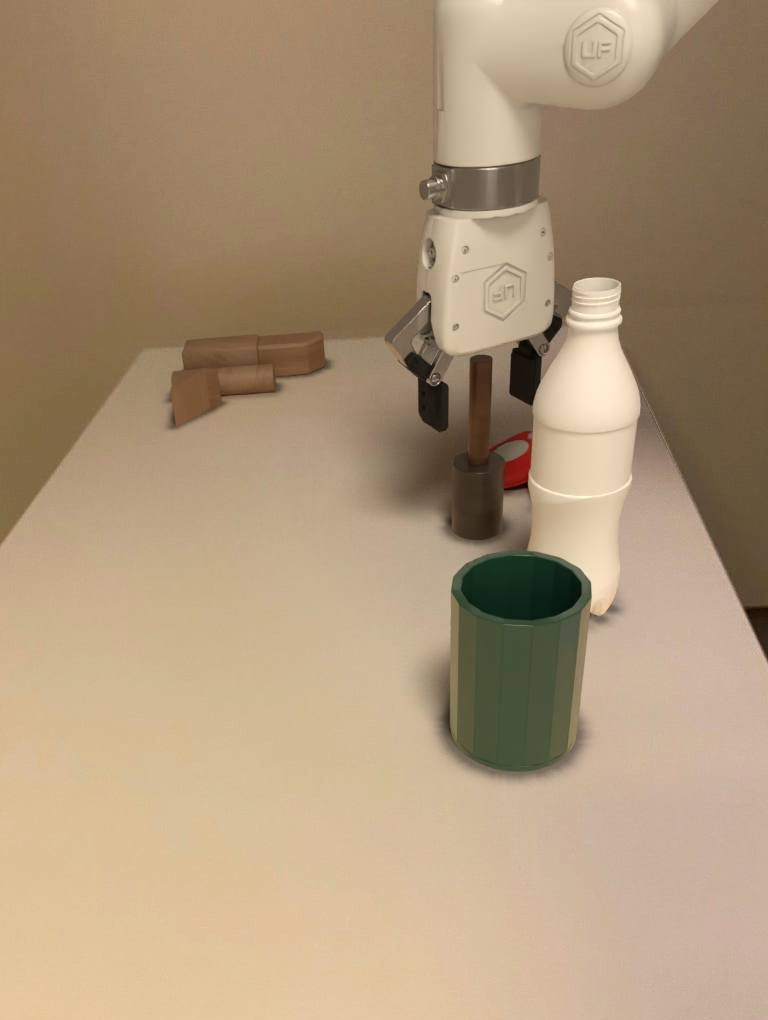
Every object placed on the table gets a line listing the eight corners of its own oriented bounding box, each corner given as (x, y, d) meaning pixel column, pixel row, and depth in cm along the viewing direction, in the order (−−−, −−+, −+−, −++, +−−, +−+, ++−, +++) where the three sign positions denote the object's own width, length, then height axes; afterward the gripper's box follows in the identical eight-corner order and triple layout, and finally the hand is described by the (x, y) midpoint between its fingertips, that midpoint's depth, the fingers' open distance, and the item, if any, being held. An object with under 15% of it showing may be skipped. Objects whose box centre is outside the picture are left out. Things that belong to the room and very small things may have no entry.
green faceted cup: (594, 719, 67) (612, 569, 60) (544, 794, 62) (558, 640, 55) (483, 683, 72) (488, 539, 65) (428, 750, 66) (427, 602, 59)
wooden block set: (176, 331, 123) (322, 320, 121) (183, 375, 126) (325, 365, 125) (158, 383, 109) (322, 370, 108) (166, 431, 112) (326, 419, 111)
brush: (510, 527, 89) (518, 352, 79) (488, 550, 86) (494, 372, 77) (465, 516, 91) (468, 345, 82) (442, 538, 88) (443, 364, 79)
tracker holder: (448, 471, 96) (510, 414, 99) (463, 508, 98) (523, 451, 102) (549, 482, 87) (614, 419, 90) (563, 523, 89) (626, 459, 92)
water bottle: (539, 574, 82) (560, 264, 68) (626, 593, 79) (669, 271, 64) (507, 620, 77) (523, 297, 63) (599, 642, 74) (638, 307, 59)
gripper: (407, 217, 66) (411, 456, 76) (618, 171, 71) (595, 402, 82) (354, 198, 72) (364, 423, 82) (552, 157, 77) (539, 374, 87)
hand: (479, 411), depth 82 cm, fingers open, 8 cm apart
